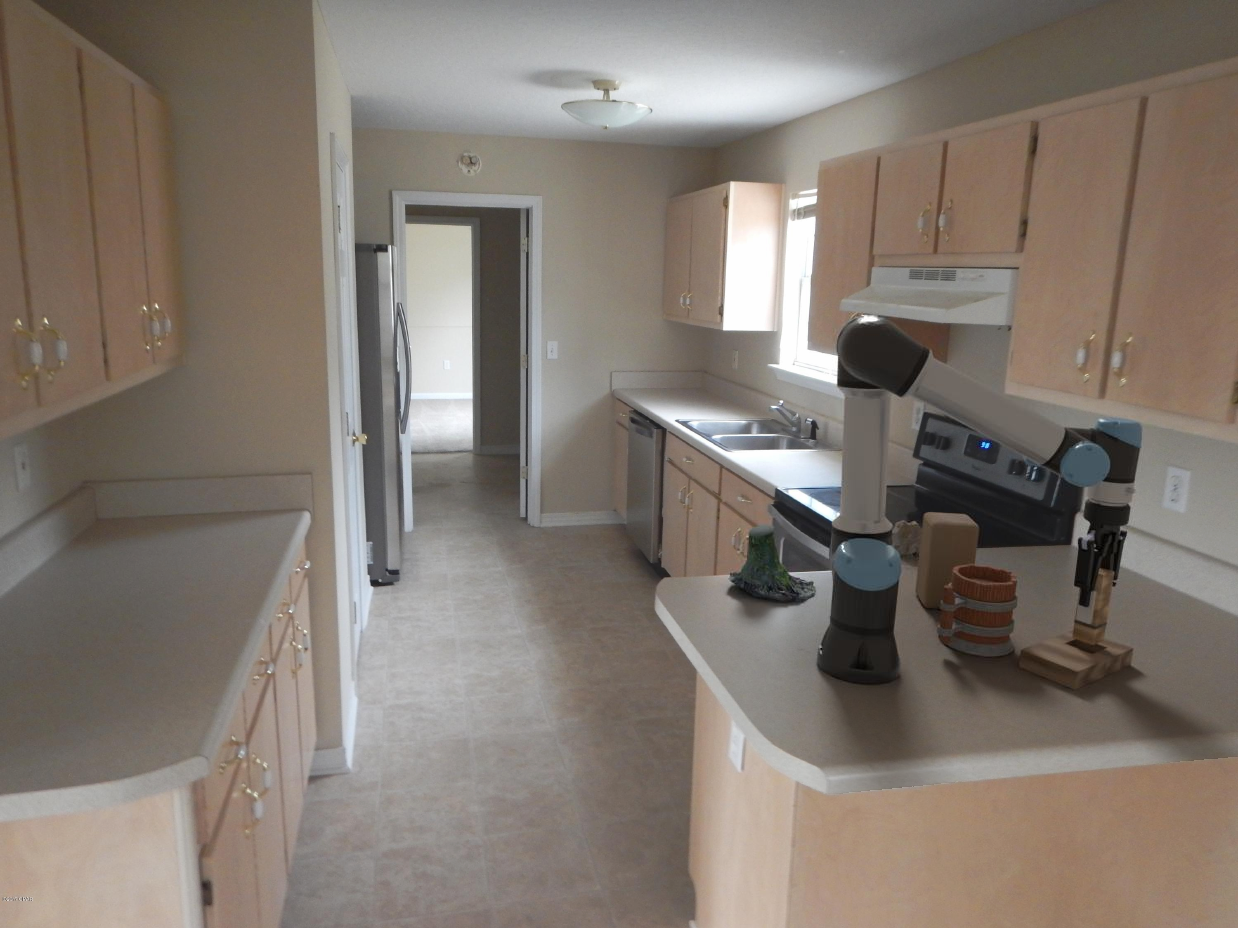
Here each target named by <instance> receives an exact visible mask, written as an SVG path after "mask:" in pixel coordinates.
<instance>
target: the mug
mask: <svg viewBox="0 0 1238 928" xmlns="http://www.w3.org/2000/svg"><path fill="white" fill-rule="evenodd" d="M1017 583H1018V578H1017V575H1016V574H1013V573H1012V571H1010V570H1009V569H1005V568H1002V567H1001V568H998V567H993V566H992V565H986V564H985V565H982V564H975V565H974V564H968V565H961V566H956V567H954V568H953V572H952V581H951V583H950V584H949V585H945V586H944V596H943V600H942V601H941V604H940V608H941V609H940V613H941V615H940V621H939V624H938V625H937V630H936V633H937V634H938V635H937V637H938V639H939V642H940V644H942V645H946V646H948V647H949V648H950V649H953V650H954V651H957V652H960V653H963V654H967V655H969V656H970V655H971V656H973V657H974V656H976V657H981V658H997V657H998V658H999V657H1003V656H1006V655H1008V654H1010V653H1012V652H1013V650H1014V649H1015V647H1014V644H1013V640H1012V639H1011V637H1010V636H1011V634H1012V633H1013V632H1014V629H1015V622H1016V621H1015V619H1014V617H1013V615H1014V610H1015V609H1016V608H1017V606H1018V602H1019V601H1018V599H1019V596H1018V594H1017V593H1016V591H1017V585H1018V584H1017Z"/></svg>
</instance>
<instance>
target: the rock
mask: <svg viewBox="0 0 1238 928" xmlns="http://www.w3.org/2000/svg"><path fill="white" fill-rule="evenodd" d="M894 525H895V526H893V529H892V547H894V548H895V549H896V550H897V551H898V553H899V555H900V558H903V557H905V556H907V555H911V554H912V555H913V556H914V557H916V558H919V553H920V544H921V534H922V527H921V526H920V524H919V523H918V522H917V521H916V520H913V521H911V522H907V521H906V520H900V521H897V522H896V523H894Z"/></svg>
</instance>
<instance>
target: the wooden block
mask: <svg viewBox="0 0 1238 928" xmlns="http://www.w3.org/2000/svg"><path fill="white" fill-rule="evenodd" d="M922 517H923V518H922V527H921V529H922V534H921V544H920V553H919V557H918V564H917V573H916V582H915V590H914V592H915V594H916V596H917V597H918V599H919V600H920V601H921V604H922V606H924V607H925V608H927V609H936V610H938V609H939V610H941V608H940V604H941V601H942V600H943V596H944V586H945V585H949V584H950V583H951V581H952V572H953V568H954V567H956V566H961V565H968V564H974V565H976V556H977V549H978V548H977V547H978V541H979V532H980V527H979V524H977V523H976V522H975V521H974V520H973V519H972V518H971V517H970V516H969V515H968V514H965V513H954V512H953V513H952V512H951V513H950V512H948V513H947V512H933V511H930V512H929V511H928V512H925V513H924V514H923V516H922Z"/></svg>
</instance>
